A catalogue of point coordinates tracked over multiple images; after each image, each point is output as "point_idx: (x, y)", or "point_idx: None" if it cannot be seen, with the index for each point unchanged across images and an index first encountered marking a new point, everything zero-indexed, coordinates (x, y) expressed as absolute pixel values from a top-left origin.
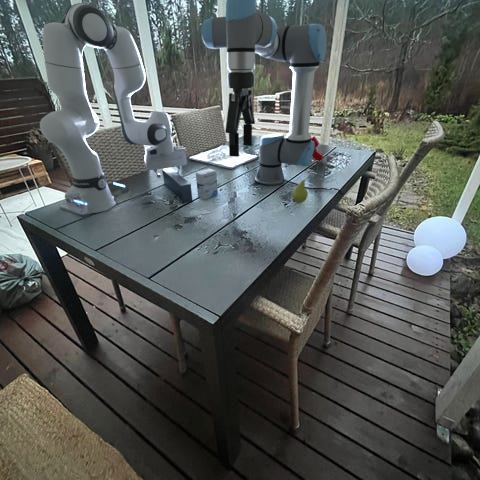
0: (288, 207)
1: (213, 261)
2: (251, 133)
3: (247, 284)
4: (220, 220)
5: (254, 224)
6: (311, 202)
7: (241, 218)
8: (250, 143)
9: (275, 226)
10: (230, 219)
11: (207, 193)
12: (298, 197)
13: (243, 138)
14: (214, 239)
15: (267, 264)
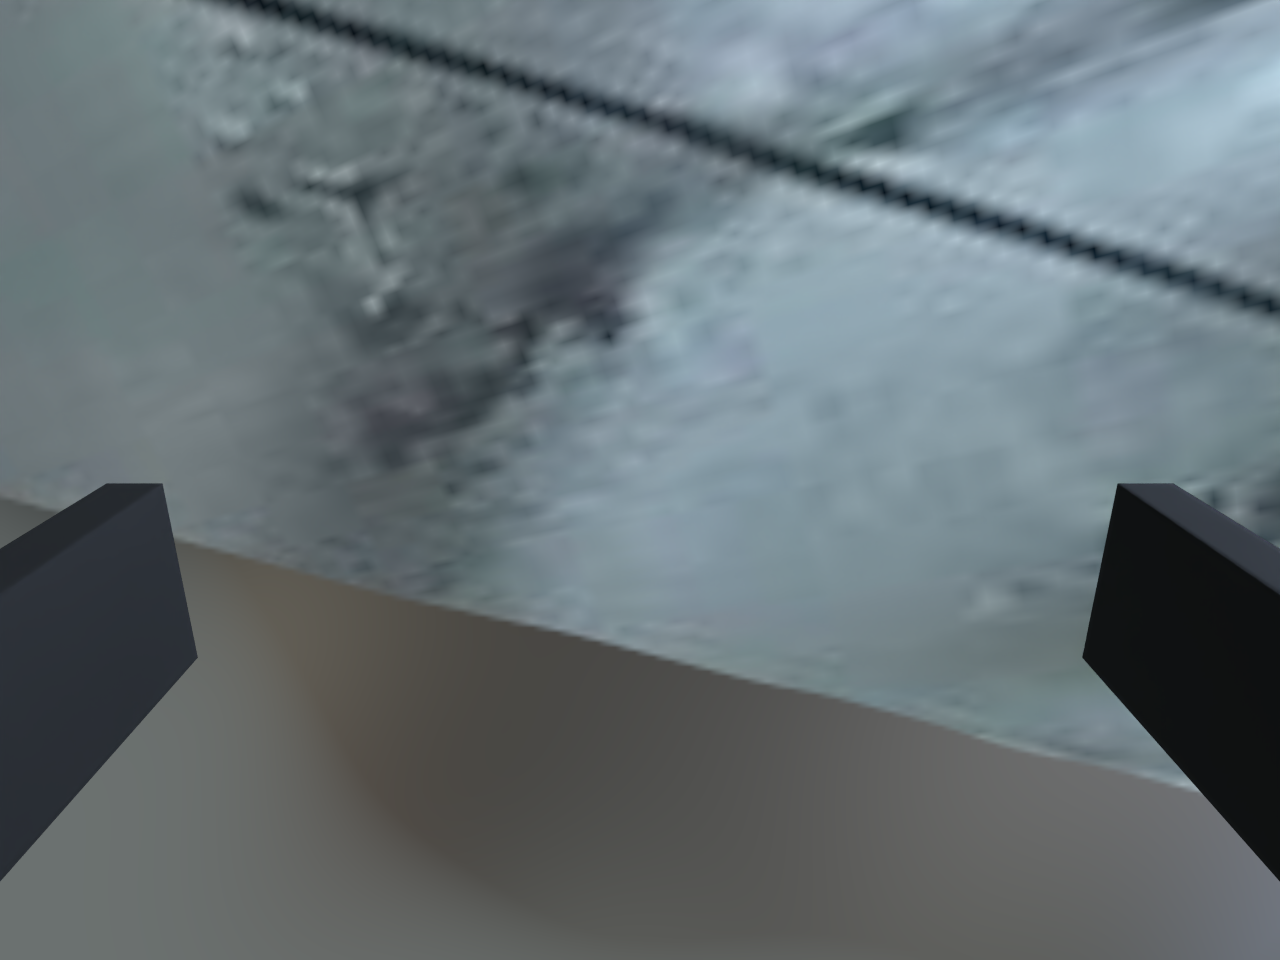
0: None
1: (157, 231)
2: (1276, 858)
3: None
4: (743, 33)
5: (752, 361)
6: None
7: (829, 221)
8: (1109, 671)
9: (763, 520)
10: (786, 124)
11: None
12: None
13: (1217, 553)
14: (417, 116)
15: (292, 567)
